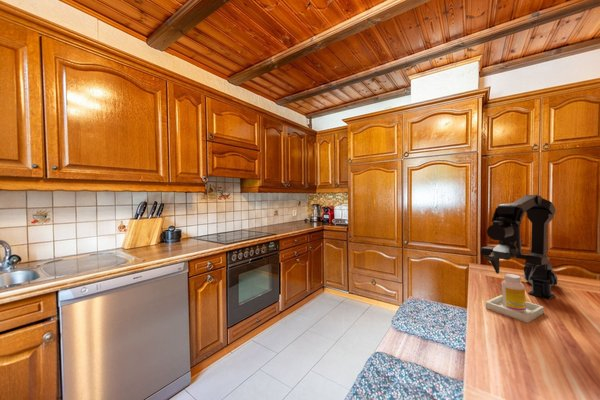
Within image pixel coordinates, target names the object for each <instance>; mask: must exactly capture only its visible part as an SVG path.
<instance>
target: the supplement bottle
mask: <svg viewBox="0 0 600 400" xmlns="http://www.w3.org/2000/svg"><path fill="white" fill-rule="evenodd" d="M503 277H504V280H502V281H501V283H500V285H501V295H502V304H503V307H505V308H508V309H511V310H514V311H517V312H520V313H523V312H525V311H526V302H527V301H526V288H525V285H524V284H523V283H522V282H521V281H522V278H521V276H520V275H517V274H514V273H512V274H511V273H504V275H503Z"/></svg>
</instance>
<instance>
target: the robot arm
mask: <svg viewBox="0 0 600 400" xmlns="http://www.w3.org/2000/svg"><path fill="white" fill-rule="evenodd" d="M494 209H495V210H494V212H493V216H492V219H491V222H492V225H490V226H488V227H487V229H486V234H487V236H488V237H489V238H490V239H491V240H493V241H498V244H497V245H495V246H489V245H487V246H482V247H481V248H480V250H479V254H480V256H481V255H482V256H483V258H487V260H489V261H490V264H491V265H492V267H493V269H494V271H495V273H496V274H497V275H498V274H500V259H501V260H502V259H503V260H505V261H510V260H511V259H512V258H514V259H519V260H520V259H521V260H525V261H524V266H523V274H524V273H525V277H526V280H525V281H527V282H528V281H529V280H532V284H531V290H530V291H529V292H528V295H532V296H535V297H539V298H542V299H545V300H550V299H552V298H554V297H556V294H554V293H552V286H554V285H553V284H555V285H556V286H557V285H558V276H557V274H556V273H555V271H554V270H553V264H552V263H551V262H550V260H548V258H549V257H548V226H549V223H550V222H551V221H553V219H554V215H555V214H556V207H555V205H554V204H553V203H552V201H550V200H547V199H545V198H543V197H542V196H541V195H538V194H526V195H523V196H522V197H521V198H518V199H516V200H515V201H512V202H511V203H510V202H508V203H507V202H506V203H500V204H498V205H497V206H496V208H494ZM525 214H526V218H527V219H528V220H529V221H530V223H531V243H530V244H531V245H530V246H531V247H530V248H531V249H530V252H531V253H529V254H524V253H523V252H524V251H523V249H522V243H523V238H521V234H522V233H521V225H522V221H523V218H524V217H525ZM551 285H552V286H551Z"/></svg>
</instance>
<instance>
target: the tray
mask: <svg viewBox="0 0 600 400" xmlns="http://www.w3.org/2000/svg"><path fill="white" fill-rule="evenodd" d="M485 309H488V310H490V311H492V312H495V311H496V313H498V314H501V315H504V316H506V317H509V318H511V319H512V318H513V319H515V320H517V321H519V322H520V321H521V322H524V323H526V324H529V323H530V322H532V321H534V320H536V319H537V318H539V317H541V316H543V315H544V314H545V307H544V306H542V305H539V304H536V303H532V302H529V301H526V311H525V312H523V313H520V312H517V311H514V310H511V309H508V308H505V307H503V304H502V294H500V295H498V296H496V297H493V298H491V299H489V300H487V301H485Z"/></svg>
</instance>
